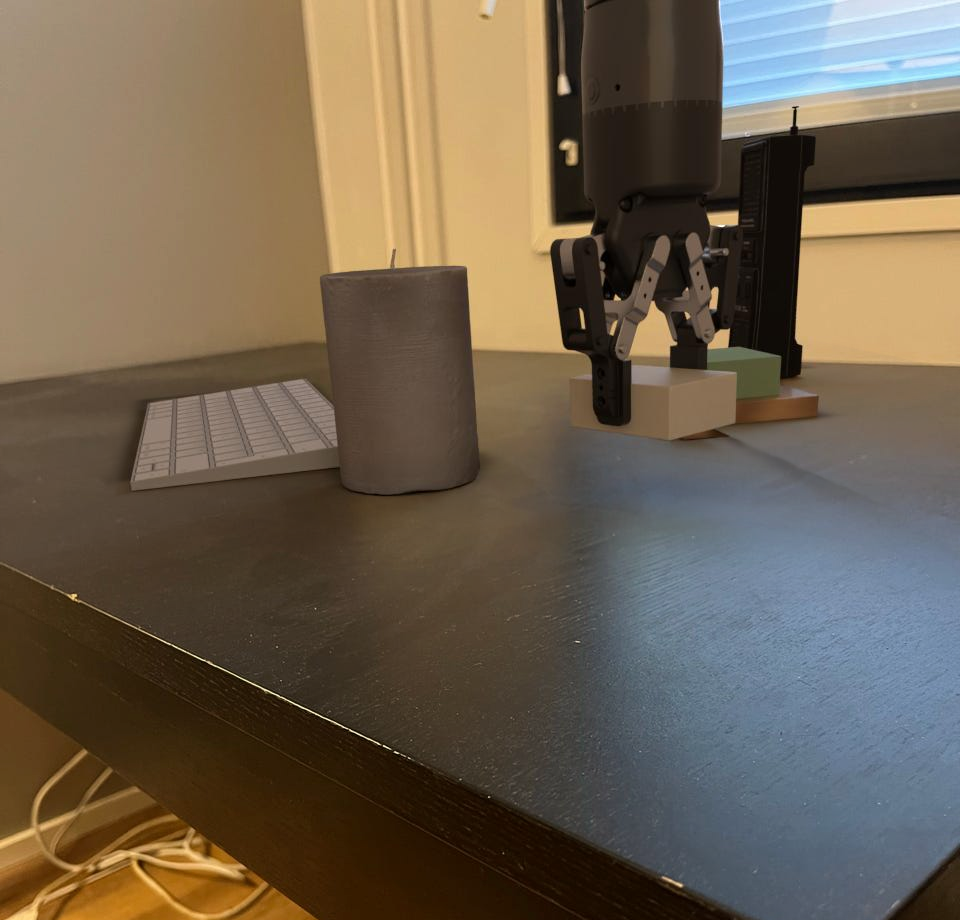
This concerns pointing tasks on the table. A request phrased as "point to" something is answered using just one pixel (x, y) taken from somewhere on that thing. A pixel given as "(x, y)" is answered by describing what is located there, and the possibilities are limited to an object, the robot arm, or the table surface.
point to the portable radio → (771, 245)
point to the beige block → (663, 402)
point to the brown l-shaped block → (770, 409)
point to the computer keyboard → (236, 435)
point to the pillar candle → (402, 377)
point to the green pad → (748, 370)
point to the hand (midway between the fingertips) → (651, 414)
